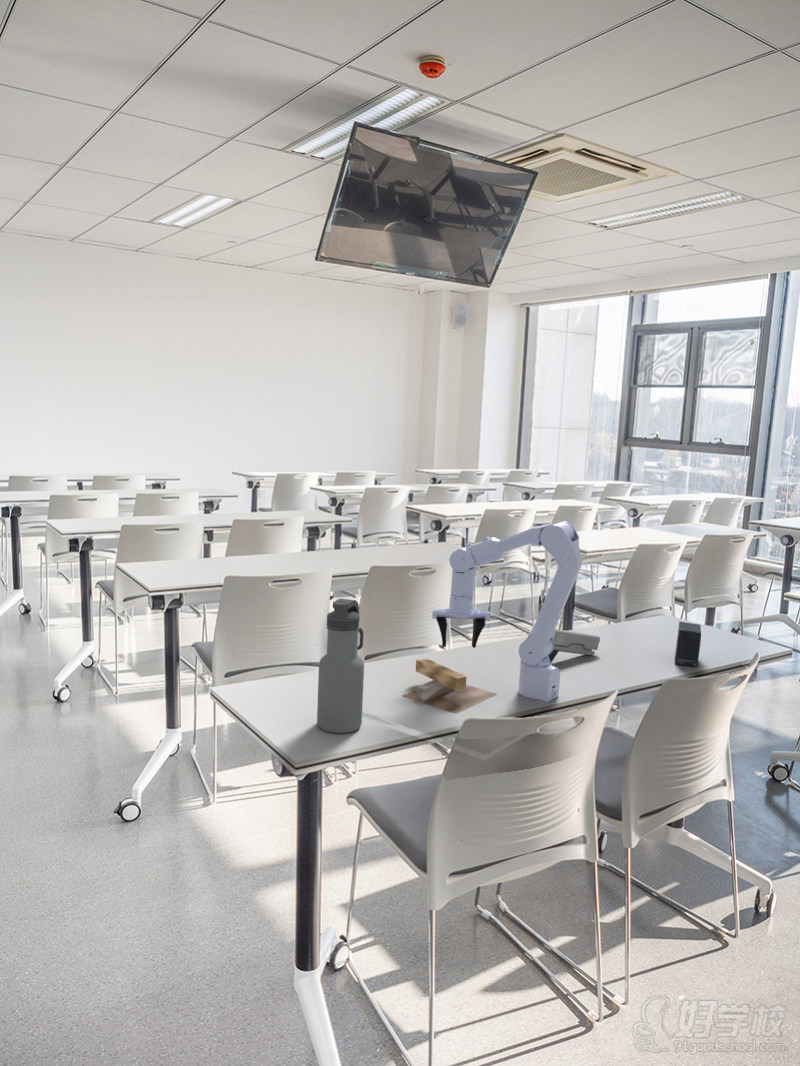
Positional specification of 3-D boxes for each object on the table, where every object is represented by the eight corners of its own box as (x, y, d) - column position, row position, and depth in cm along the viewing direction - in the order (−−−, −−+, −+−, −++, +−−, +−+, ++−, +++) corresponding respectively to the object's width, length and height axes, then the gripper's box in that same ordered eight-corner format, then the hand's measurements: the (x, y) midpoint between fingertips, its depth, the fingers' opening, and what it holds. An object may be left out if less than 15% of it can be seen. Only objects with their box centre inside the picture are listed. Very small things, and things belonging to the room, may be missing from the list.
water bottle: (327, 713, 184) (331, 593, 179) (368, 720, 181) (373, 598, 177) (309, 730, 174) (314, 603, 170) (352, 737, 171) (357, 608, 167)
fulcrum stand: (497, 697, 199) (498, 682, 199) (456, 717, 185) (457, 700, 185) (443, 682, 209) (444, 667, 208) (401, 699, 195) (401, 683, 194)
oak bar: (415, 671, 204) (416, 659, 204) (424, 669, 206) (425, 657, 205) (455, 690, 191) (456, 678, 191) (465, 688, 193) (466, 676, 192)
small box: (698, 668, 232) (702, 632, 230) (674, 664, 234) (678, 629, 232) (697, 657, 242) (701, 623, 240) (674, 654, 244) (678, 620, 242)
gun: (529, 661, 226) (537, 626, 226) (587, 667, 241) (595, 635, 241) (535, 663, 224) (544, 628, 224) (594, 670, 239) (602, 637, 239)
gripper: (435, 597, 202) (432, 649, 204) (492, 599, 203) (489, 651, 205) (432, 590, 209) (429, 641, 211) (488, 592, 210) (484, 643, 212)
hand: (458, 646), depth 209 cm, fingers open, 7 cm apart
